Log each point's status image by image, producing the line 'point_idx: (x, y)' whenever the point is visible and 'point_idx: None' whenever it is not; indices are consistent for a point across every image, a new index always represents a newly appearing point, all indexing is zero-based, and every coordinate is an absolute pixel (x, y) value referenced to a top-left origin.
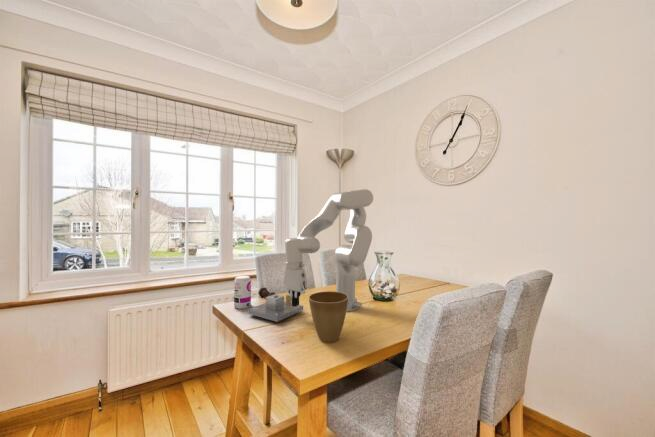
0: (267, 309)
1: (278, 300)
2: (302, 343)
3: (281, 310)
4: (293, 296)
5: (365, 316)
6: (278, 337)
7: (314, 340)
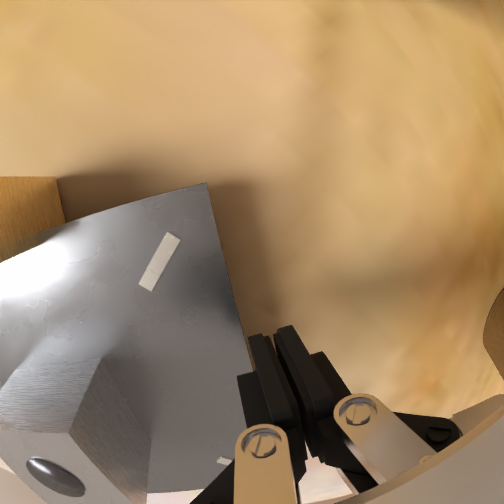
0: None
1: (126, 477)
2: (454, 403)
3: (182, 420)
4: (299, 468)
5: (477, 25)
6: None
7: (476, 365)
